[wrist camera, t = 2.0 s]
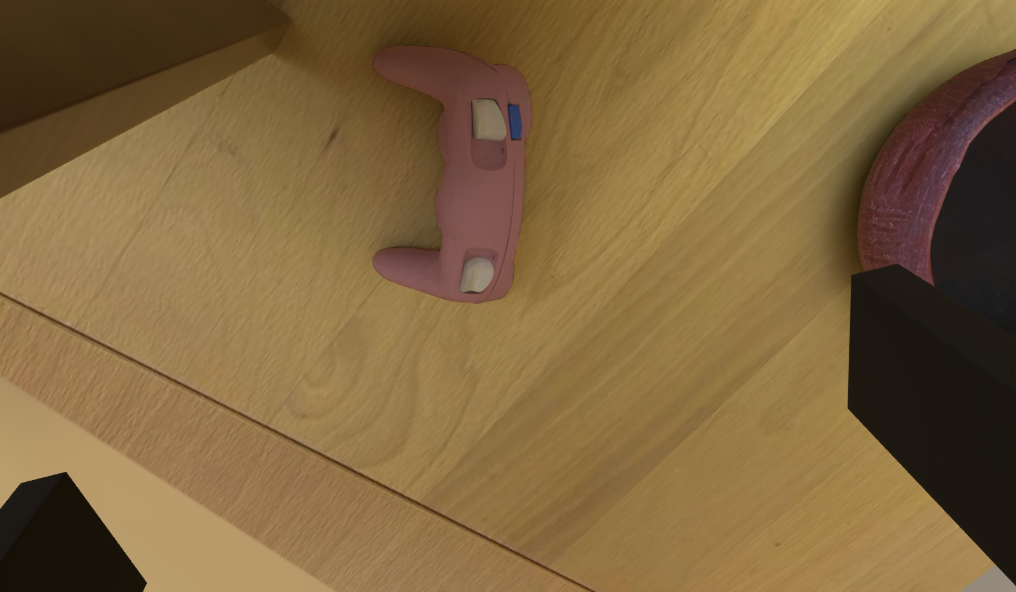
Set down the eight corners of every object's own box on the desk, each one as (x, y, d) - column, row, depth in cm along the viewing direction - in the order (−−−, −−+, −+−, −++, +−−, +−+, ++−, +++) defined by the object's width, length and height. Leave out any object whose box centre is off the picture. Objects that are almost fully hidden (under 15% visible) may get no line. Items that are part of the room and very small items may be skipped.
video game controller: (454, 257, 31) (536, 321, 26) (364, 272, 29) (436, 345, 24) (466, 40, 27) (568, 66, 22) (362, 36, 25) (449, 64, 20)
